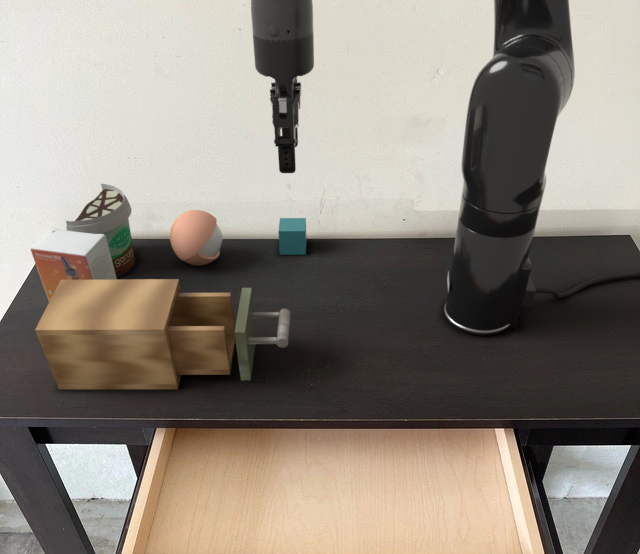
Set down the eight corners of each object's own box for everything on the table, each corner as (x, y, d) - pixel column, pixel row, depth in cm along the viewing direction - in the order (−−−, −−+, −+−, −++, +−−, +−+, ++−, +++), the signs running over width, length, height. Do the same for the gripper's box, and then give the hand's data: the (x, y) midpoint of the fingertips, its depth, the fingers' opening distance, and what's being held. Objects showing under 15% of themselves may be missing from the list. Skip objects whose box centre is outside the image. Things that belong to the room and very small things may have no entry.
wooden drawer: (292, 335, 86) (290, 287, 80) (289, 380, 79) (286, 332, 74) (153, 335, 86) (142, 288, 81) (139, 380, 80) (126, 332, 75)
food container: (123, 290, 95) (106, 227, 88) (83, 286, 96) (63, 223, 89) (155, 246, 103) (141, 185, 96) (118, 242, 104) (102, 181, 97)
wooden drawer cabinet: (190, 337, 87) (178, 278, 81) (178, 389, 80) (164, 329, 73) (81, 338, 87) (60, 279, 81) (58, 389, 80) (34, 329, 74)
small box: (53, 316, 91) (27, 248, 83) (72, 293, 95) (50, 226, 87) (105, 323, 89) (85, 255, 82) (124, 300, 93) (105, 233, 86)
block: (306, 241, 104) (305, 217, 101) (305, 254, 101) (305, 231, 98) (281, 241, 104) (279, 217, 101) (279, 254, 101) (278, 231, 98)
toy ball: (226, 274, 98) (219, 225, 92) (173, 277, 97) (163, 228, 91) (226, 246, 103) (219, 198, 98) (176, 249, 103) (167, 201, 97)
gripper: (312, 45, 76) (314, 181, 87) (314, 11, 86) (316, 137, 97) (247, 46, 76) (258, 182, 88) (257, 12, 86) (266, 138, 98)
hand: (289, 158), depth 92 cm, fingers open, 8 cm apart
